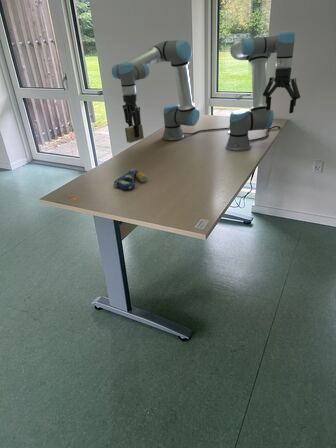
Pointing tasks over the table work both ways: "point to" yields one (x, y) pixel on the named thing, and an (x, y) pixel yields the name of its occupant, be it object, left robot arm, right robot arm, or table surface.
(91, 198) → the table surface
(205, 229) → the table surface
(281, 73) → the right robot arm
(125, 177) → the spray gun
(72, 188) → the table surface
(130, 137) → the ink box
